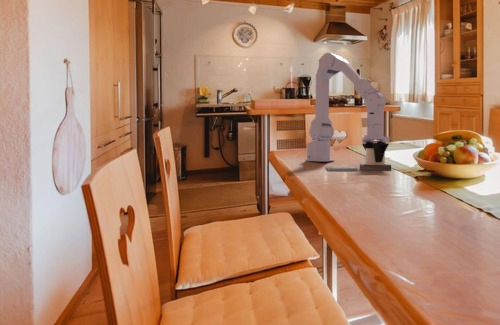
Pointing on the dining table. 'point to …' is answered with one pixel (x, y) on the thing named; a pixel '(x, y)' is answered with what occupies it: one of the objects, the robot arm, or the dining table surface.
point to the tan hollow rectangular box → (375, 167)
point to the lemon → (421, 154)
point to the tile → (341, 168)
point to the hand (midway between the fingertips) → (375, 162)
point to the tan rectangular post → (373, 157)
